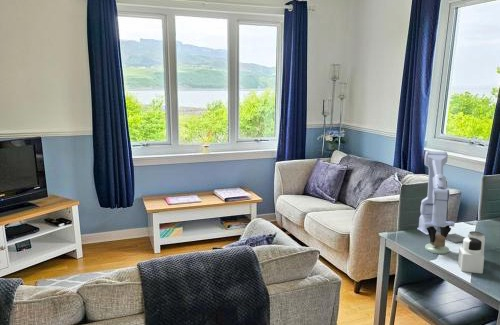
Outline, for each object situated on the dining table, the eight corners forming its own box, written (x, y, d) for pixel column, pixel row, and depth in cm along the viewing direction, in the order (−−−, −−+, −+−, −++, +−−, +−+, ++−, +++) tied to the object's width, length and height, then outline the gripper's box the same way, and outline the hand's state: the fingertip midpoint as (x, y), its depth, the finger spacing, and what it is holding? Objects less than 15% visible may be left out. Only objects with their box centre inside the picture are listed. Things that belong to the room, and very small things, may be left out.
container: (478, 265, 158) (481, 236, 156) (482, 274, 151) (485, 243, 148) (457, 263, 160) (460, 235, 158) (461, 271, 153) (464, 241, 151)
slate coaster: (441, 236, 190) (441, 235, 190) (455, 234, 193) (455, 233, 193) (455, 243, 182) (455, 241, 182) (469, 241, 184) (470, 239, 184)
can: (462, 256, 167) (464, 231, 165) (476, 255, 168) (478, 230, 165) (472, 262, 161) (474, 236, 159) (486, 262, 161) (489, 235, 159)
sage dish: (420, 246, 179) (420, 243, 179) (440, 245, 180) (440, 242, 180) (433, 254, 169) (433, 252, 169) (453, 253, 170) (453, 251, 170)
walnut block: (430, 243, 176) (430, 234, 175) (438, 242, 177) (439, 233, 176) (435, 247, 172) (436, 237, 171) (444, 246, 172) (445, 237, 171)
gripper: (429, 217, 167) (427, 245, 169) (459, 215, 169) (457, 243, 171) (420, 212, 174) (419, 239, 176) (449, 210, 175) (447, 238, 178)
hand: (437, 241), depth 174 cm, fingers closed on walnut block, 4 cm apart
